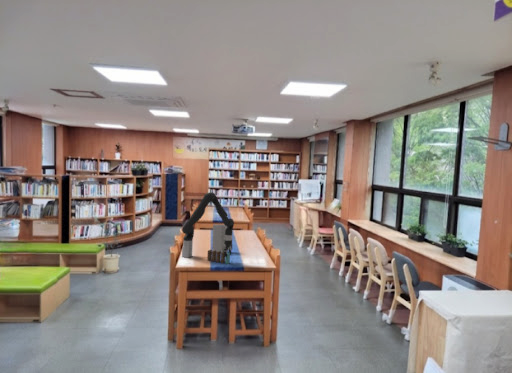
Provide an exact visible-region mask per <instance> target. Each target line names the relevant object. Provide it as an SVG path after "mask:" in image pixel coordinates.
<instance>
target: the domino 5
mask: <svg viewBox="0 0 512 373" xmlns="http://www.w3.org/2000/svg"><path fill="white" fill-rule="evenodd" d="M230 256H231V255H230V253H229V251H227V257H225V262H224V263H225V265H227V264H230V262H231V261H230V258H231V257H230Z"/></svg>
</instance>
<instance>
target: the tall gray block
mask: <svg viewBox="0 0 512 373" xmlns="http://www.w3.org/2000/svg"><path fill="white" fill-rule="evenodd" d="M226 228H227V226H225V225H224V224H212V249H211V250H212V251H214V250H216V254H217V252H218V251H221V253H222V252H223V250H224V247H225V246H226V245H225V244H224V240H225V229H226ZM224 252H225V250H224Z"/></svg>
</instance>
